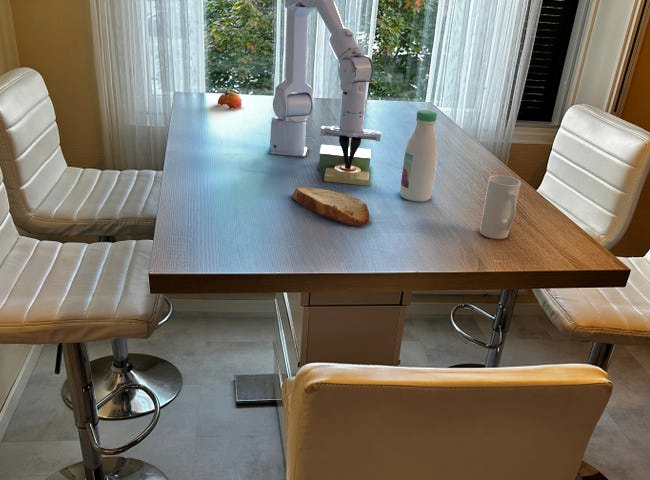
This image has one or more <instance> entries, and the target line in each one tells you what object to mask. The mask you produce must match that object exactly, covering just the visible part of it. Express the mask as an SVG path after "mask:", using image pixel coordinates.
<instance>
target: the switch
mask: <svg viewBox="0 0 650 480" xmlns="http://www.w3.org/2000/svg"><path fill="white" fill-rule="evenodd" d="M340 169H341V170H344V171H355V167H354V166H351V169H349V168H345V165H342V166H341V168H340Z"/></svg>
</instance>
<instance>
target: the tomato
mask: <svg viewBox="0 0 650 480" xmlns="http://www.w3.org/2000/svg"><path fill="white" fill-rule="evenodd" d="M219 105H220V106H224V105H225V106H227V107H228V110H232V109H233V110H235V109H241V108H242V105H243V104H242V98H241V97H240V95H239V94H238V93H236V92H234V91H229V90H225V91H224V93H222V94H220V95H219V97H218V99H217V106H219Z"/></svg>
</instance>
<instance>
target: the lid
mask: <svg viewBox="0 0 650 480" xmlns="http://www.w3.org/2000/svg"><path fill="white" fill-rule="evenodd" d="M371 151H372V150H371V149H368V148H360V147H359V148H358V149H357V151H356V153H355V155H354V158H353V159H361V160H370V161H371V156H372V155H371V153H372V152H371ZM320 155H321V156H331V157H341V158H344V155H343V152H342V149H341V146H340V145H339V146H338V145H329V144H321V146H320V151H319V156H320ZM349 155H350V147H349V151H348V158H349Z"/></svg>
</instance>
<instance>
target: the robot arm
mask: <svg viewBox="0 0 650 480" xmlns="http://www.w3.org/2000/svg"><path fill="white" fill-rule="evenodd" d="M284 8H285V9H286V26H285V27H286V29H285V63H284V65H285V66H284V67H285V68H284V79H283V80H282V81H281V82H280V83H279V84H277V86H275V88H274V89H275V90H274V91H275V92H274V97H273V100H272V110H273V112H274V114H275V116H273V117H271V122H270V139H269V145H270V146H269V154H271V155H281V156H282V155H283V156H289V157H291V156H292V157H301V158H305V157H306V154H307V151H308V147H306V136H307V135H306V133H307V121H308V120H309V119H310V116H311V115H312V114H313V112H314V109H315V101H314V96H313V88H312V87H311V85H310V84H308V82H307V81H306V75H307V74H306V72H307V50H308V49H307V47H308V23H309V22H308V20H309V15H310V14H311V13H312V12H313V10H316V12H317V13H318V15H319V17H320V19H321V20H322V22H323V23H324V26H325V27H326V29H327V30H328V32H329V34H330V35H329V38H328V43H329V46H330V48H331V50H332V52H333V54H334V56H335V58H336V60H337V62H338V65H339V67H338V69H337V71H338V77H339V80H340V90H341V101H340V102H341V103H340V115H339V125H320V133H319V135H320V136H321V137H325V136H328V137H338V143H339V147H341V149H342V152H343V155H344V161H345V168H349V169H351V164H352V160H353V158H354V155H355V153H356V151H357V149H358V148H359V149H360V146H361V144H362V140H367V141H375V142H381V137H382V131H378V130H373V129H368V128H364V123H365V121H364V120H365V112H366V111H365V110H366V100H367V91H368V83H370V82H371V81H372V79H373V78H374V72H375V66H374V63H373V60H372V58H371V57H370V56H368V55H366V54H365V52H362V50H361V48H360V46H359V44H358V42H357V40H356V38H355V36H354V34H353V31H352V30H351V29H350V28H349V27H345V26H344V24H343V20H342V18H341V16H340V13H339V10H338V8H337V5H336V3H335V0H284ZM349 148H350V155H349V161H348V151H349Z"/></svg>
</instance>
